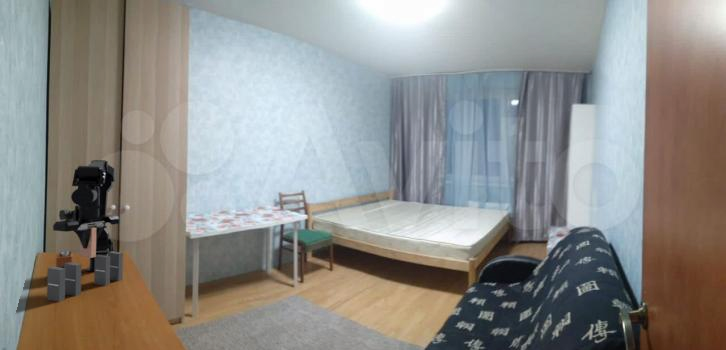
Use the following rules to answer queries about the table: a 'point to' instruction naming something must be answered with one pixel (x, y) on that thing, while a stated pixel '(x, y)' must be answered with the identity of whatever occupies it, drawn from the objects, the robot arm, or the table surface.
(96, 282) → the domino
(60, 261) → the battery
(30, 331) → the table surface
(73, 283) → the domino
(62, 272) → the domino
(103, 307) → the table surface
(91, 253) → the domino
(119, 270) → the domino
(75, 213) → the robot arm
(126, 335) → the table surface
